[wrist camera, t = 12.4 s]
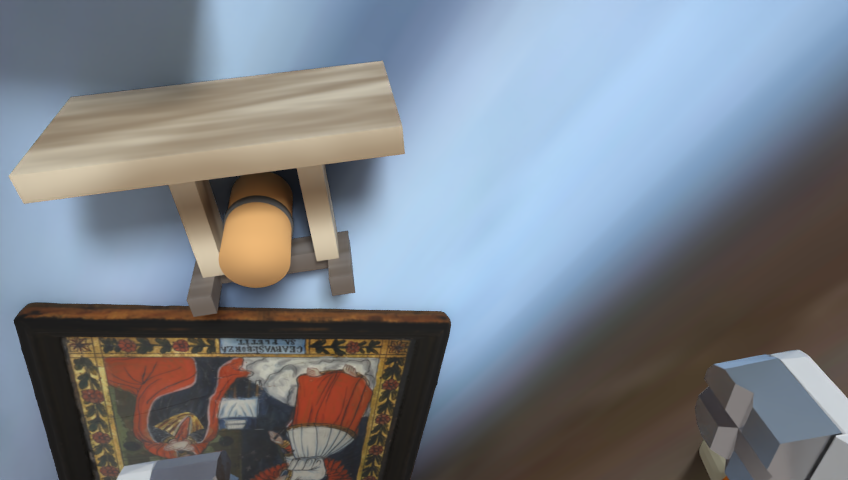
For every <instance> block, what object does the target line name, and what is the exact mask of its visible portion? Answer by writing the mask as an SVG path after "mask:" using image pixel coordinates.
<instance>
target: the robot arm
mask: <svg viewBox="0 0 848 480" xmlns="http://www.w3.org/2000/svg"><path fill="white" fill-rule="evenodd" d="M704 379H705V381H706V382H707V384H708V385H709V387H708V388H706V389H705V390H704V391H703V392H702V393H701V394H700V395H699V396H698V399H697V403H696V406H695V413H696V420H697V425H698V427H699V430H700V432H701V435H702V437H703V439H704V440H705V442H706V443H707V445H708V447H709V448H710V449H711V450H712V451H714V452H715V453H717V454H718V455H720V456H722V457H723V458H725V459H726V462H725V474H726V476H727V477H728V479H729V480H848V398H847V397H846V396H845V395H844V394H843V393H842V392H841V391H840V390H839V388H838V387H837V386H836V385H835V384H834V383H833V382H832V381H831V380H830V379H829V378H828V376H827V375H826V374H825V373H824V372H823V371H822V370H821V369H820V368H819V367H818V366H817V364H816V363H815V362H814V361H813V360H812V359H811V358H810V357H809V356H808V355H807V354H805V353H804V352H802V351H800V350H791V351H786V352H781V353H776V354H771V355H760V356H755V357H749V358H744V359H739V360H734V361H729V362H723V363H718V364H714V365H712V366H711V367H710V368H708V370H707V372H706V375H705V378H704ZM230 471H231V460H230V458H229V456H228V454H227V452H226V450H223V451H216V452H210V453H203V454H197V455H191V456H184V457H178V458H172V459H165V460H157V461H151V462H145V463H140V464H134V465H128V466H124V467H123V469H122V471H121V472H120V474H119V475H118V477H117V479H116V480H239V478H238V477H236V476H234V475H232V474H230Z"/></svg>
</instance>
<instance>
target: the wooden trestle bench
mask: <svg viewBox="0 0 848 480" xmlns="http://www.w3.org/2000/svg"><path fill="white" fill-rule="evenodd" d="M400 154H405V152H404V141H403V129H402V124H401V120H400V117H399V114H398V110H397V107H396V104H395V100H394V97H393V94H392V90H391V87H390V83H389V80H388V77H387V73H386V70H385V67H384V63H383V61H377V62H369V63H360V64H351V65H343V66H334V67H325V68H317V69H308V70H300V71H291V72H282V73H274V74H265V75H256V76H248V77H239V78H231V79H222V80H213V81H205V82H196V83H188V84H179V85H170V86H162V87H153V88H144V89H136V90H127V91H119V92H110V93H101V94H93V95H84V96H75V97H70V99H69V100H68V101H67V102H66V104H65V105H64V106H63V107H62V109H61V110H60V111H59V112H58V114H57V115H56V116H55V118H54V119H53V120H52V121H51V123H50V124H49V125H48V126H47V128H46V129H45V130H44V132H43V133H42V134H41V135H40V137H39V138H38V139H37V140H36V142H35V143H34V144H33V146H32V147H31V148H30V149H29V151H28V152H27V153H26V154H25V156H24V157H23V158H22V159H21V161H20V162H19V163H18V165H17V166H16V167H15V168H14V170H13V171H12V172H11V173H10V175H9V178H10V180H11V182H12V183H13V185H14V187H15V189H16V191H17V192H18V194H19V196H20V198H21V199H22V201H23V203H24V204H25V203H33V202H41V201H48V200H56V199H64V198H71V197H79V196H87V195H94V194H102V193H109V192H117V191H125V190H132V189H140V188H148V187H155V186H163V185H169V188H170V191H171V193H172V196H173V199H174V201H175V204H176V207H177V209H178V212H179V215H180V217H181V220H182V223H183V226H184V228H185V231H186V234H187V236H188V239H189V242H190V244H191V247H192V250H193V252H194V255H195V258H196V262H195V267H194V271H193V275H192V279H191V284H190V288H189V292H188V296H187V302H188V304H189V307H190V309H191V312H192V314H193V317H196V316H203V315H210V314H216V313H217V311H218V305H219V300H220V294H221V288H222V284H223V283H229V282H233V281H231V280H230V279H229V278H227V277H226V276H225V274H224V273H223V272H222V270H221V268H220V265H219V252H220V247H221V242H222V237H223V222H222V219H221V216H220V213H219V210H218V207H217V204H216V201H215V198H214V195H213V191H212V188H211V185H210V182H209V179H216V178H224V177H232V176H239V175H247V174H255V173H262V172H270V171H278V170H285V169H293V168H297V172H298V176H299V181H300V186H301V190H302V195H303V200H304V204H305V209H306V213H307V218H308V223H309V227H310V232H311V236H308V237H301V238H294V239H291V262H290V268H289V270H288V272H287V274H291V273H297V272H304V271H311V270H318V269H325V268H328V269H329V281H330V286H331V291H332V296H335V295H342V294H348V293H355V287H354V277H353V267H352V257H351V247H350V241H349V236H348V231H344V232H337V228H336V223H335V217H334V212H333V206H332V201H331V196H330V190H329V185H328V179H327V174H326V168H325V164H331V163H339V162H346V161H354V160H362V159H369V158H377V157H385V156H392V155H400Z"/></svg>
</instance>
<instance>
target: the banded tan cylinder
mask: <svg viewBox="0 0 848 480" xmlns="http://www.w3.org/2000/svg"><path fill="white" fill-rule="evenodd" d="M292 206H293V194H292V190H291V188H290V186H289V184H288V183H287V182H286V181H285V180H284V179H283V178H282V177H280V176H279V175H277V174H275V173H272V172H262V173H255V174H247V175H242V176H241V177H240V178H238V179H237V180H236V182H235V183H234V185H233V187H232V190H231V195H230V200H229V205H228V210H227V212H226V214H225V217H224V222H223V237H222V242H221V247H220V252H219V265H220V268H221V270H222V272H223V273H224V274H225V276H226V277H227V278H229V279H230V280H231V281H233V282H235V283H237V284H239V285H242V286H245V287H252V288H260V287H266V286H270V285H273V284H275V283H277V282H278V281H280V280H281V279H282V278H283V277H284V276H285V275H286V274H287V272H288V270H289V268H290V262H291V239H292V236H293V218H292Z"/></svg>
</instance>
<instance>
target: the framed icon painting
mask: <svg viewBox="0 0 848 480" xmlns="http://www.w3.org/2000/svg"><path fill="white" fill-rule="evenodd" d="M14 324H15V327H16V330H17V333H18V337H19V340H20V344H21V349H22V352H23V355H24V358H25V362H26V365H27V368H28V372H29V375H30V378H31V381H32V385H33V389H34V393H35V397H36V400H37V403H38V406H39V410H40V413H41V417H42V420H43V424H44V427H45V430H46V434H47V438H48V442H49V446H50V449H51V452H52V456H53V459H54V463H55V467H56V470H57V474H58V477H59V480H116V479H117V477H118V475H119V474H120V472H121V471H122V469H123V467H124V466H128V465H134V464H140V463H145V462H151V461H157V460H165V459H172V458H178V457H184V456H191V455H197V454H203V453H210V452H216V451H223V450H226V452H227V454H228V456H229V458H230V460H231V471H230V474H232V475H234V476H236V477H238V478H239V480H410V478H411V474H412V471H413V468H414V464H415V460H416V456H417V453H418V449H419V445H420V442H421V438H422V434H423V431H424V427H425V424H426V420H427V416H428V413H429V409H430V406H431V402H432V398H433V395H434V391H435V388H436V385H437V382H438V377H439V373H440V369H441V365H442V361H443V357H444V353H445V350H446V346H447V342H448V338H449V334H450V328H451V321H450V319H449V317H448V316H447V315H446V314H445V313H444V312H441V311H399V310H350V309H286V308H235V307H218V311H217V313H216V314H210V315H203V316H196V317H193V314H192V312H191V309H190V307H189V306H145V305H111V304H57V303H30V304H28V305H26V306H25V307H24V308H23V309H22V310H21V311H20V312H19V313H18V315H17V316H16V317H15V319H14Z"/></svg>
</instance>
